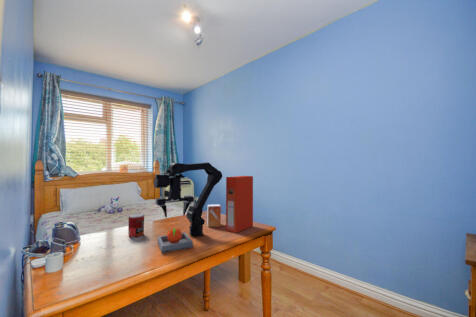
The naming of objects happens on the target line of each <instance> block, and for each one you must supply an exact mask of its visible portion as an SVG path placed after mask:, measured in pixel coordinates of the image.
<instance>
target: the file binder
mask: <svg viewBox="0 0 476 317" xmlns="http://www.w3.org/2000/svg"><path fill="white" fill-rule="evenodd" d="M225 180H226V181H225V191H226V192H225V230H226V232H229V233H233V234H237V233H240V232H243V231H245V230H247V229H250V228H251V227H253V226H254V176H253V175H238V176H237V175H236V176H235V175H234V176H226V177H225Z"/></svg>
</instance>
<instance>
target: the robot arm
mask: <svg viewBox="0 0 476 317" xmlns="http://www.w3.org/2000/svg"><path fill="white" fill-rule="evenodd" d="M200 170H204V172H205V173H206V175H207V179H206V183H205V185H204V187H203V189H202V191H201V193H200V194H199V196H198V197H197V198H198V199H197V200H196V202H195V197H194V196H192V195H184V197H182V179H184V178H185V177H186V176H185V175H184V174H183V173H185V172H190V171H200ZM222 178H223V173H222V171H220V170H218V168H216V167H215V166H213V165H212V163H210V162H198V163H197V162H196V163H178V162H171V163H170V164H169V165H168V168H167V169H166V172H165V173H164V174H158V173H157V174H155V177H154V180H153V187H154V188H155V189H163V188H164V189H165V188H168V187H169V188H168V190H164V191H163V197H157V198H156V199H155V205H156V206H158V207H161V209H162V211H163V214H164V217H165V218H166V219H167V217H168V211H167V205H166V203H178V202H183V210H182V213H183V214H182V215H183V216H185V215H186V216H185V217H186V220H188V221H189V223H190V226H189V235H190V236H191V238H192V237H194V238H195V237H200V236H204V233H203V229H204V228H203V227H204V225H205V223H206V220H205V219H204V218H203V217H202V216H203V211H204V210H203V209H204V207H205V205H206V202H207V201H208V198H209V197H210V195H211V193H212V191H213V190H214V187H215V186H216V185H217V184H218V183H220V181H221V180H222ZM194 202H195V204H193V205H192V203H194Z"/></svg>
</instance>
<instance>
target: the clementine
mask: <svg viewBox="0 0 476 317" xmlns="http://www.w3.org/2000/svg"><path fill="white" fill-rule="evenodd" d="M182 233H183V232H182V231H181V230H180V229H179V228H177V227H176V228H171V229H170V230H169V231H168V232H167V234H166V235H167V239H168V241H169V242H170V243H177V242H179V241H180V240H181V237H182Z"/></svg>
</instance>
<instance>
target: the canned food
mask: <svg viewBox="0 0 476 317" xmlns="http://www.w3.org/2000/svg"><path fill="white" fill-rule="evenodd" d="M127 225H128V228H127V229H128V232H127V234H128V236H129V237H130V238H139V237H142V236H143V235H144V233H145V213H137V212H136V213H131V214H129V215H128V224H127Z"/></svg>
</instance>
